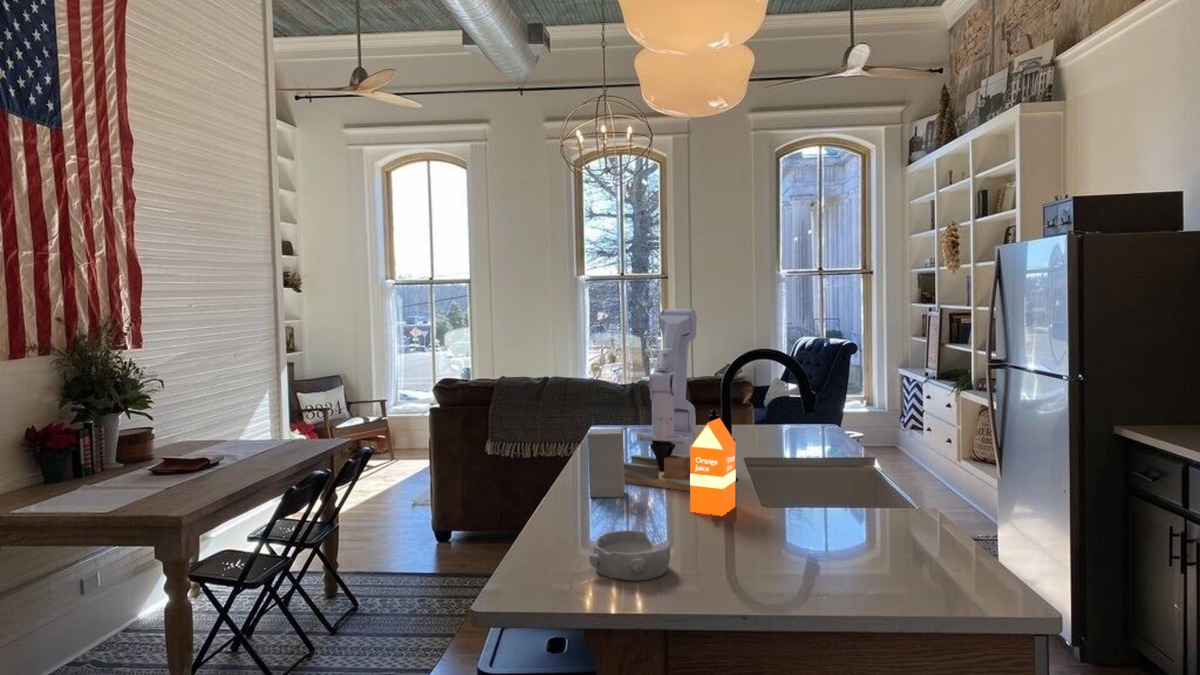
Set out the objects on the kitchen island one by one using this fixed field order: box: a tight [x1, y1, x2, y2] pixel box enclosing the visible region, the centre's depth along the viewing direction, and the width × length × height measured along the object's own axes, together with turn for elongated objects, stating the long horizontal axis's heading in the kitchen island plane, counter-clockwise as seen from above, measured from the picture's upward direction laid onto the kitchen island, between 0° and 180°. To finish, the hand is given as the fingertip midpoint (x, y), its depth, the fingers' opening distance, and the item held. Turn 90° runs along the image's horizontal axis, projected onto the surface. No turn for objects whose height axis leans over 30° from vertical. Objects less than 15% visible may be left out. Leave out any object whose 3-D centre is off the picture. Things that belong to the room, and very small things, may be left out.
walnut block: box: [664, 454, 690, 480], centre depth 201 cm, size 6×5×5 cm
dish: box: [588, 529, 671, 581], centre depth 138 cm, size 14×14×5 cm
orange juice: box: [689, 417, 737, 517], centre depth 175 cm, size 8×9×20 cm
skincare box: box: [586, 427, 626, 498], centre depth 188 cm, size 8×7×16 cm
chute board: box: [624, 454, 690, 492], centre depth 204 cm, size 14×24×4 cm, turn 60°
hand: (663, 470), depth 203 cm, fingers closed
